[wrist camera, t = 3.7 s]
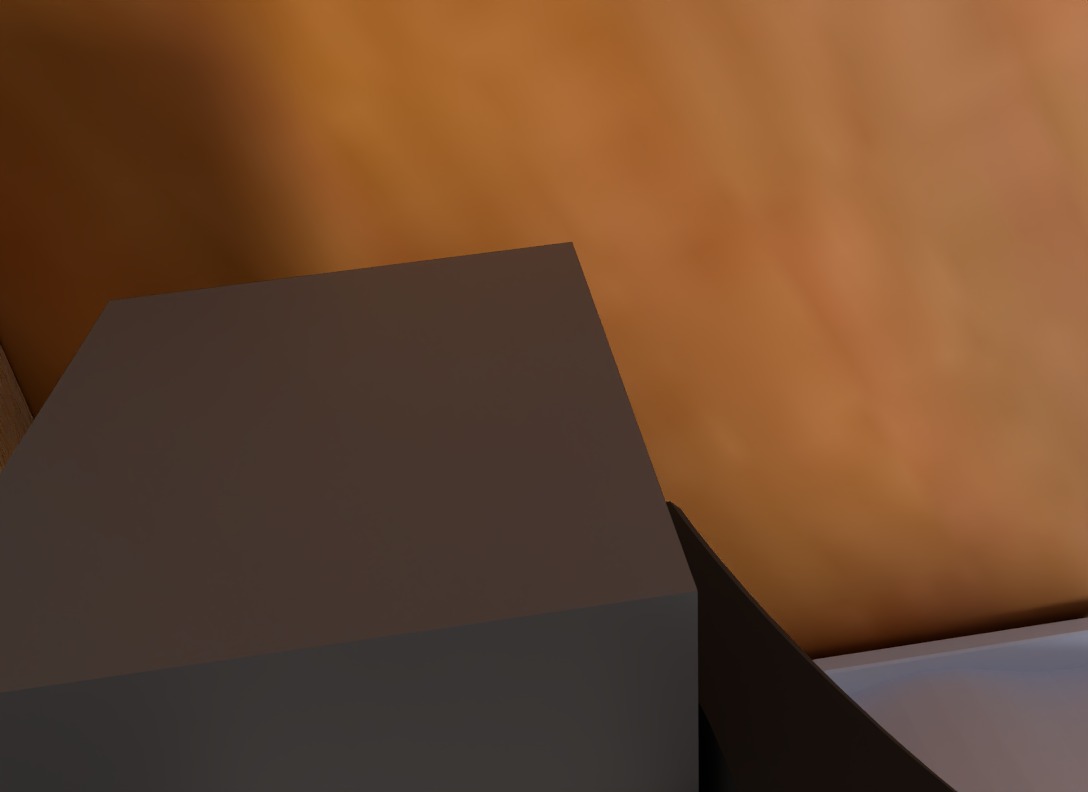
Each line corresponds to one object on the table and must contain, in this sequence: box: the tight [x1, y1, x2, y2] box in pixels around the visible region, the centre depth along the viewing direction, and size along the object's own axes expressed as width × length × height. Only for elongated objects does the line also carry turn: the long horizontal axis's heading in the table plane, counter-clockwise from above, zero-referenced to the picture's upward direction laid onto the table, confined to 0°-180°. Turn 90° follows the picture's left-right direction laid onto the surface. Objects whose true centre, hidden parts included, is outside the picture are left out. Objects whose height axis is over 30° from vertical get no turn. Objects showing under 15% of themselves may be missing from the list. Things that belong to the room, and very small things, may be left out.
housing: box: [0, 242, 699, 792], centre depth 9 cm, size 4×7×5 cm, turn 5°
